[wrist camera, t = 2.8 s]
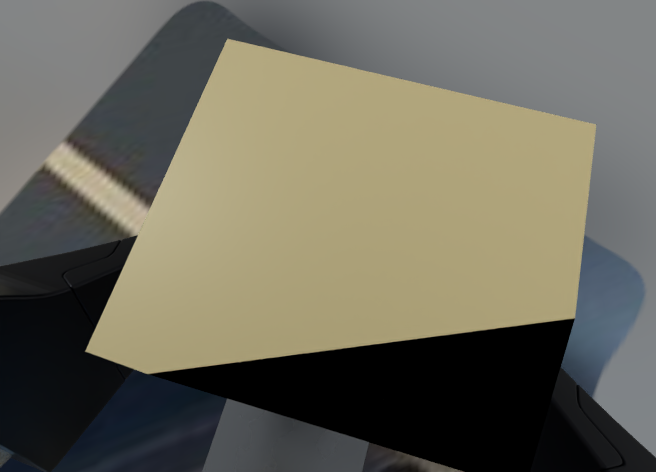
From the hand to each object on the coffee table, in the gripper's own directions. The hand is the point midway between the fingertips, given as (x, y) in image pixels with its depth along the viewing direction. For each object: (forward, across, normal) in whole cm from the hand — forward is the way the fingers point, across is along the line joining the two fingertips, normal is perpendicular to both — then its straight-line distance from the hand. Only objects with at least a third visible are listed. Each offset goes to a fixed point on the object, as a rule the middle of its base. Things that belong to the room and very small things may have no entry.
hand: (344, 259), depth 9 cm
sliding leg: (+4, -1, +4) cm, 6 cm away
